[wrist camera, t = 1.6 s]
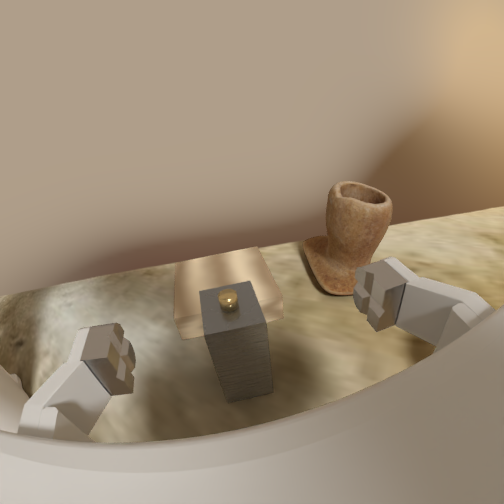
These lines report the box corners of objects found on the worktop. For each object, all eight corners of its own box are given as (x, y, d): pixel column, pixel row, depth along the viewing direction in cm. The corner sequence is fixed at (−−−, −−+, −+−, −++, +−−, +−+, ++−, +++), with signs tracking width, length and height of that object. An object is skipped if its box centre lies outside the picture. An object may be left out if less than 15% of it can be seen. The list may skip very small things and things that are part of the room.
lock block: (227, 402, 26) (200, 324, 20) (219, 362, 31) (196, 280, 25) (273, 392, 27) (265, 310, 21) (260, 353, 32) (248, 269, 26)
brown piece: (393, 293, 38) (409, 199, 31) (320, 305, 38) (323, 205, 31) (360, 246, 51) (364, 170, 44) (301, 253, 52) (298, 174, 44)
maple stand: (182, 340, 35) (174, 318, 33) (181, 282, 47) (175, 262, 45) (283, 318, 37) (282, 295, 35) (259, 266, 49) (257, 246, 47)
